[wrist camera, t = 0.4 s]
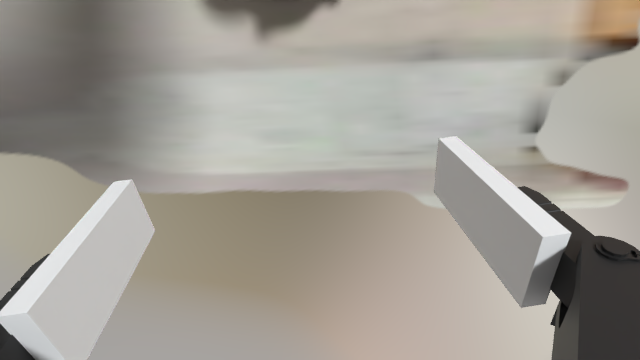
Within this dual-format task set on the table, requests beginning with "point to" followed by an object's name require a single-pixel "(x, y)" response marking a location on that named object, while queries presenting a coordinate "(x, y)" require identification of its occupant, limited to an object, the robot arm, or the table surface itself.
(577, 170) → the table surface
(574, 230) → the robot arm
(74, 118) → the table surface
